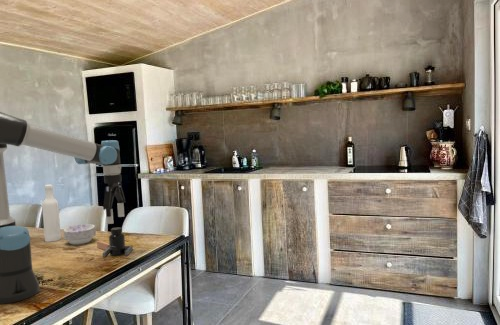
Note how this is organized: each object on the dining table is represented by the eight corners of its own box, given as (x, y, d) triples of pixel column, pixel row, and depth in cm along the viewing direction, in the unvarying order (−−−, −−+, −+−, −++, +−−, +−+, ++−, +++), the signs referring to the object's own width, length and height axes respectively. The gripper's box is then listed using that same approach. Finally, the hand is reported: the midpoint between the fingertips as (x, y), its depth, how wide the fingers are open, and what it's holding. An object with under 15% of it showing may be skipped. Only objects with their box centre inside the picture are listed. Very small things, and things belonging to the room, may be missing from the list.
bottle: (54, 242, 204) (49, 185, 202) (41, 242, 206) (36, 186, 204) (64, 238, 212) (60, 183, 210) (51, 237, 214) (47, 183, 211)
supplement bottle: (109, 257, 175) (107, 230, 174) (110, 252, 182) (108, 227, 181) (125, 255, 177) (123, 229, 176) (125, 250, 184) (124, 226, 183)
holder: (136, 244, 193) (136, 238, 193) (127, 255, 175) (127, 249, 175) (98, 246, 192) (97, 240, 192) (85, 258, 174) (84, 251, 174)
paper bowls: (69, 248, 192) (67, 232, 191) (61, 242, 204) (59, 227, 203) (100, 242, 201) (99, 227, 201) (90, 236, 213) (89, 222, 213)
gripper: (109, 177, 164) (113, 226, 166) (129, 170, 189) (133, 213, 191) (92, 178, 164) (96, 227, 166) (114, 171, 189) (118, 214, 191)
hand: (116, 220), depth 178 cm, fingers open, 13 cm apart
